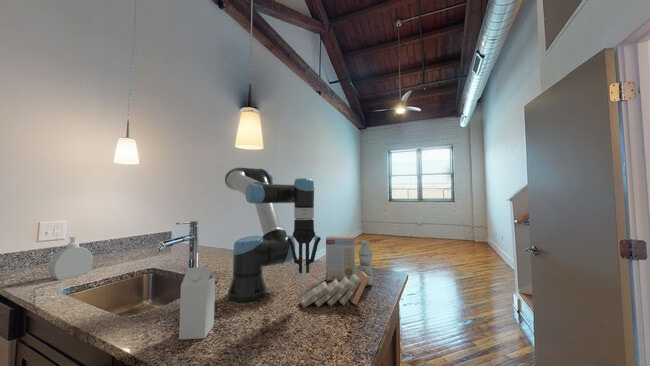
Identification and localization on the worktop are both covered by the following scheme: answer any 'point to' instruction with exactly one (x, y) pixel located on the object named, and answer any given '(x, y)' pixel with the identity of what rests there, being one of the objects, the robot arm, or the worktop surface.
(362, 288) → the domino end
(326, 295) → the domino
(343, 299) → the domino
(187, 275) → the milk carton
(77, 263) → the soap bottle
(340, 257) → the cracker box
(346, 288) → the domino
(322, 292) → the domino
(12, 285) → the worktop surface
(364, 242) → the plastic bottle
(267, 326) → the worktop surface
